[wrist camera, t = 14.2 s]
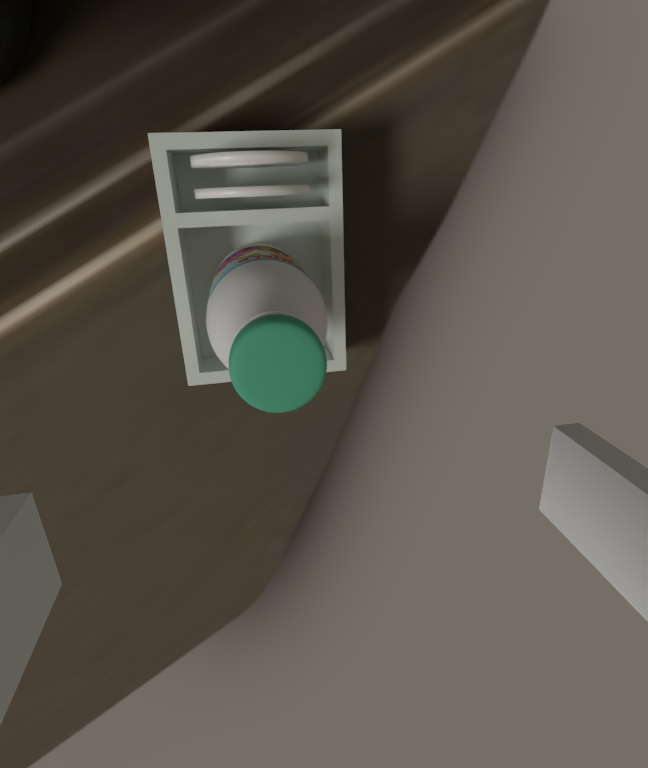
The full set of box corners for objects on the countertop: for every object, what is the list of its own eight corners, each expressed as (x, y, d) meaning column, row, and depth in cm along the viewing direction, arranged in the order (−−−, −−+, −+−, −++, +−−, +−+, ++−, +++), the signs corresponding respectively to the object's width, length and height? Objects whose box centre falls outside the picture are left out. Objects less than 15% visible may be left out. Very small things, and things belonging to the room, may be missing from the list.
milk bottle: (299, 336, 42) (349, 446, 24) (211, 330, 40) (190, 443, 22) (309, 247, 39) (373, 293, 21) (214, 237, 37) (194, 277, 19)
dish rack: (193, 365, 42) (183, 406, 34) (158, 141, 35) (136, 124, 27) (334, 351, 44) (357, 388, 36) (328, 137, 37) (354, 120, 29)
